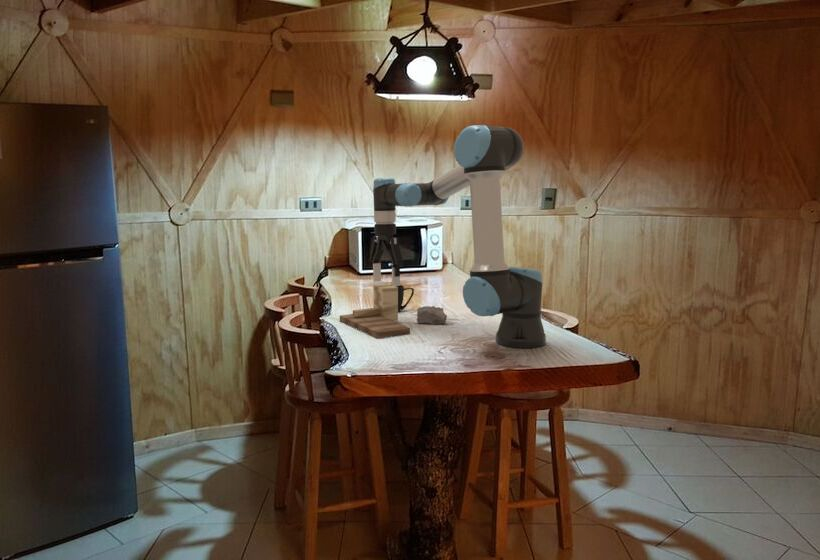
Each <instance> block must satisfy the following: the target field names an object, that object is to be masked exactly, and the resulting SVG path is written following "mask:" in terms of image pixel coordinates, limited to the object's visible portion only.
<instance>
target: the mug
mask: <svg viewBox="0 0 820 560" xmlns="http://www.w3.org/2000/svg"><path fill="white" fill-rule="evenodd" d="M396 287H398V313H400V312H401V311H402V310H404V309H406V307H407V306H408V304H409V303H410V301H411V299H412V298H413V296H414V292H415V289H414V288H413V287H405V286H404V285H402V284H400V286H396ZM406 290H411V295H410V296H409V298H408V299H407V302H406V303H405V304H404V305H403V302H404V296H405V291H406Z"/></svg>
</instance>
